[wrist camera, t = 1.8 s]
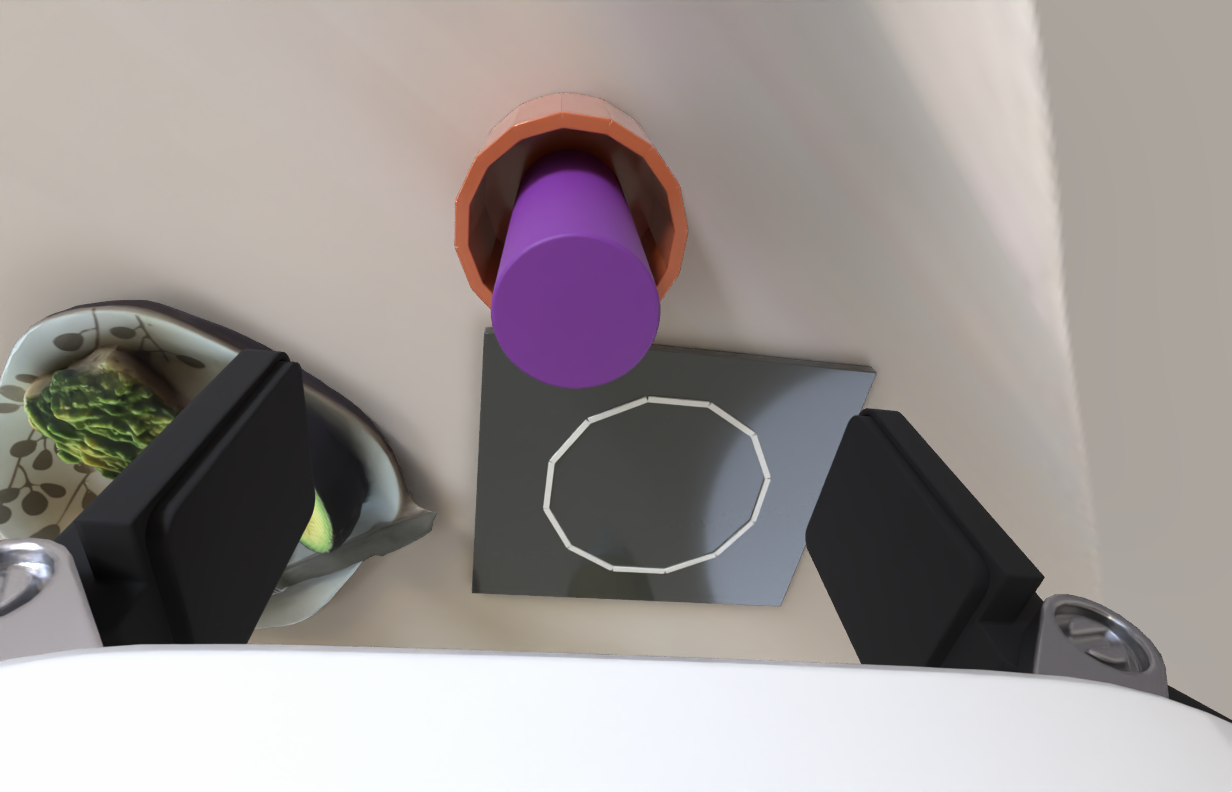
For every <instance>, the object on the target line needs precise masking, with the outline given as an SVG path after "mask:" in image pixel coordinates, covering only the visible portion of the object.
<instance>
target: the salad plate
mask: <svg viewBox="0 0 1232 792" xmlns="http://www.w3.org/2000/svg"><path fill="white" fill-rule="evenodd" d="M244 349H255V350H265V351H273V350H271V349H270V348H268V347H266V346H264V345H262V344H260V343H258V342H256V341H254V340H252V339H250V338H248V337H246V336H244V335H242V334H240V333H237V332H235V331H233V330H231V329H228V328H226V327H223V326H221V325H218V324H215V323H212V322H209V321H206V320H204V319H201V318H198V317H195V316H193V315H190V314H188V313H185V312H183V311H180V310H177V309H174V308H171V307H168V306H166V305H163V304H159V303H155V302H151V301H147V300H118V301H106V302H99V303H91V304H84V305H78V306H75V307H72V308H70V309H67V310H64V311H61V312H58V313H55V314H52V315H50V316H48V317H46V318H44V319H43V320H41V321H39V322H38V323H36V324H34V325H33V326H31V327H30V328H29V329H28V331H27V332H26V333H25V334H24V335H23V336H22V337H21V338H19V339H18V341H17V342H16V344H15V346H14V348H13V350H12V352H11V354H10V357H9V359H8V361H7V363H6V366H5V368H4V371H3V373H2V376H1V379H0V534H1V535H2V536H3V537H4V538H6V539H15V538H28V537H30V538H39V539H47V540H51V541H54V540H55V539H56V538H57V537H58V536H59V535H60V534H61V533H62V532H63V531H64V530H65V529H66V528H67V527H68V526H69V525H70V524H71V523H72V522H73V521H74V519H75V518H76V517H77V516H78V515H79V514H80V513H81V512H82V511H83V510H84V509H85V508H86V507H87V506H88V505H89V504H90V503H91V502H92V501H93V500H94V499H95V498H96V497H97V496H98V495H99V494H100V493H101V492H102V491H103V490H104V489H105V488H106V487H107V486H108V485H109V484H110V483H111V482H112V481H113V480H114V479H115V478H116V477H117V476H118V475H119V474H120V473H121V472H122V471H123V470H124V469H125V468H126V467H127V466H128V465H129V464H130V463H131V462H132V461H133V460H134V459H135V458H136V457H137V456H138V455H139V454H140V453H141V452H142V451H143V450H144V449H145V448H146V447H147V446H148V445H149V444H150V443H151V442H152V441H153V440H154V439H155V438H156V437H157V436H158V435H159V434H160V433H161V432H162V431H163V430H164V429H165V427H166V426H167V425H168V424H169V423H170V422H171V421H172V420H173V419H174V418H175V417H176V416H177V415H178V414H179V413H180V412H181V411H182V410H183V409H184V408H185V407H186V406H187V405H188V404H189V403H190V402H191V401H192V400H193V399H194V398H195V397H196V396H197V395H198V394H199V393H200V392H201V391H202V390H203V389H204V388H205V387H206V386H207V385H208V384H209V383H210V382H211V381H212V380H213V379H214V378H215V377H216V376H217V375H218V374H219V373H220V372H221V371H222V370H223V369H224V368H225V367H226V366H227V365H228V364H229V363H230V362H231V361H232V360H233V359H234V358H235V357H236V356H237V355H238V354H239V353H240V352H241V351H242V350H244ZM301 370H302V369H301ZM302 377H303V386H304V396H305V405H306V414H307V423H308V432H309V441H310V450H311V459H312V469H313V478H314V487H315V507H314V511H313V515H312V517H311V519H310V521H309V523H308V525H307V527H306V529H305V531H304V533H303V535H302V537H301V539H300V541H299V543H298V545H297V547H296V549H295V551H294V553H293V554H292V556H291V558H290V560H289V562H288V564H287V566H286V568H285V570H284V572H283V574H282V576H281V578H280V580H279V582H278V584H277V586H276V588H275V590H274V592H273V594H272V596H271V597H270V599H269V601H268V603H267V605H266V607H265V609H264V611H263V613H262V615H261V617H260V619H259V621H258V623H257V625H256V627H255V629H258V628H270V627H280V626H287V625H292V624H296V623H299V622H301V621H304V620H306V619H308V618H310V617H311V616H313V615H314V614H315V613H316V612H317V611H318V610H320V609H321V608H322V607H323V606H325V605H326V604H327V603H328V602H329V601H330V600H331V599H332V598H333V597H334V596H335V594H336V593H337V591H338V590H339V589H340V588H341V587H342V586H343V584H344V583H345V582H346V581H347V580H348V579H349V578H350V577H351V576H352V575H353V573H354V572H355V571H356V569H357V568H358V567H359V565H360V564H361V562H362V561H365V560H366V559H367V558H369V557H371V556H374V555H379V556H384V555H386V554H388V553H391V552H393V551H395V550H398V549H400V548H402V547H404V546H406V545H408V544H410V543H412V542H414V541H416V540H418V539H419V538H421V537H423V536H425V535H426V534H427V533H429V532H430V531H431V530H432V525H433V520H434V518H435V516H436V514H437V513H436V512H433V511H430V510H427V509H424V508H421V507H420V506H419V505H417V504H416V503H415V502H414V500H413V499H412V497H411V495H410V494H409V492H408V490H407V488H406V485H405V482H404V479H403V476H402V472H401V469H400V467H399V465H398V463H397V461H396V458H395V456H394V454H393V451H392V449H391V448H390V446H389V445H388V443H387V442H386V440H385V438H384V437H383V436H382V435H381V433H380V432H379V431H378V429H377V428H376V427H375V426H374V424H373V423H372V422H371V421H370V420H369V418H368V417H367V416H366V415H365V414H364V413H363V412H362V411H361V410H360V409H359V408H358V407H357V406H355V405H354V404H353V403H352V402H350V401H349V400H348V399H346V398H345V397H344V396H342V395H341V394H339V393H338V392H336V391H334V390H333V389H331V388H330V387H328V386H327V385H325V384H324V383H323V382H321V381H320V380H318V379H317V378H315V377H314V376H312V375H310V374H309V373H307V372H305V371H304V370H302Z"/></svg>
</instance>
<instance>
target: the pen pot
mask: <svg viewBox="0 0 1232 792" xmlns="http://www.w3.org/2000/svg"><path fill="white" fill-rule="evenodd" d="M568 149H571V150H579V151H584V152H587V153H590V154H592V155H594V156H596V157H598V158H599V159H601V160H602V161H603V162H605V163H606V164H607V165H608V166H609V167H610V168H611V169H612V171H613V172H614V173H615V175H616V176H617V178H618V180H619V182H620V184H621V187H622V190H623V193H624V195H625V198H626V201H627V204H628V207H629V210H630V213H631V215H632V218H633V221H634V224H635V227H636V230H637V233H638V235H639V238H640V241H641V244H642V247H643V250H644V253H645V255H646V258H647V261H648V264H649V267H650V270H651V273H652V275H653V278H654V281H655V284H656V287H657V291H658V294H659V300H660V302H661V301H662V299H663V298H664V296H665V295H666V293H667V292H668V290H669V289H670V287H671V286H672V284H673V283H674V281H675V280H676V278H677V277H678V275H679V273H680V269H681V264H682V260H683V255H684V250H685V245H686V241H687V236H688V224H687V219H686V214H685V209H684V203H683V198H682V193H681V187H680V186H679V183H678V181H677V180H676V178H675V177H674V175H673V174H672V172H671V171H670V169H669V168H668V166H667V165H666V163H665V162H664V160H663V159H662V157H661V156H660V154H659V153H658V151H657V150H656V148H655V147H654V146H653V144H652V143H651V141H650V140H649V138H648V137H647V136H646V134H645V133H644V131H643V130H642V128H641V127H640V126H639V124H638V123H637V122H636V121H635V120H634V119H632V118H631V117H629V116H628V115H627V114H625V113H624V112H623V111H621V110H620V109H619V108H617V107H615V106H613V105H611V104H610V103H608V102H606V101H605V100H602V99H600V98H595V97H592V96H587V95H583V94H574V93H558V94H552V95H547V96H542V97H539V98H536V99H534V100H531V101H529V102H526V103H523V104H521V105H520V106H519V107H517V108H516V109H515V110H514V111H512V112H511V113H510V114H508V115H507V116H506V117H505V118H504V119H503V120H502V121H501V122H500V123H499V124H498V125H497V126H495V127H494V128H493V129H492V130H491V132H490V133H489V135H488V137H487V138H486V140H485V142H484V144H483V145H482V147H481V149H480V150H479V152H478V154H477V155H476V157H475V159H474V161H473V163H472V165H471V168H470V170H469V172H468V174H467V176H466V178H465V181H464V183H463V185H462V187H461V189H460V191H459V193H458V196H457V198H456V202H455V242H454V245H455V250H456V252H457V255H458V257H459V260H460V262H461V265H462V267H463V270H464V272H465V275H466V277H467V280H468V282H469V285H470V287H471V288H472V290H473V291H474V292H475V293H476V294H477V296H478V297H479V298H480V299H481V300H482V301H483V302H484V303H485V304H486V305H487V306H488V307H489V308H490V309H491V301H492V295H493V291H494V286H495V282H496V278H497V274H498V270H499V266H500V261H501V257H502V253H503V249H504V245H505V241H506V236H507V232H508V228H509V224H510V220H511V216H512V211H513V207H514V203H515V199H516V195H517V191H518V187H519V184H520V182H521V179H522V177H523V176H524V174H525V172H526V171H527V170H528V169H529V167H530V166H531V165H532V164H533V163H534V162H536V161H537V160H538V159H540V158H541V157H543V156H545V155H547V154H549V153H552V152H555V151H559V150H568Z"/></svg>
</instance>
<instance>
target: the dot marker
mask: <svg viewBox="0 0 1232 792" xmlns="http://www.w3.org/2000/svg"><path fill="white" fill-rule="evenodd" d="M491 320H492V326H493V329H494V333H495V336H496V338H497V340H498V343H499V345H500V347H501V348H502V350H503V351H504V353H505V354H506V356H507V357H508V358H509V359H510V360H511V361H512V363H514V364H515V365H516V366H517V367H518V368H519V369H520V370H521V371H523V372H524V373H526V374H527V375H529V376H530V377H532V378H534V379H536V380H538V381H540V382H543V383H545V384H548V385H552V386H556V387H561V388H568V389H582V388H591V387H596V386H600V385H603V384H606V383H609V382H611V381H613V380H615V379H618V378H619V377H621V376H623V375H624V374H626V373H627V372H628V371H630V370H631V369H632V368H634V367H635V366H636V365H637V364H638V363H639V362H640V361H641V359H642V358H643V357H644V356H645V354H646V353H647V352H648V350H649V348H650V347H651V345H652V343H653V341H654V339H655V336H656V334H657V330H658V326H659V321H660V300H659V294H658V291H657V287H656V284H655V281H654V278H653V275H652V273H651V270H650V267H649V264H648V261H647V258H646V255H645V253H644V250H643V247H642V244H641V241H640V238H639V235H638V233H637V230H636V227H635V224H634V221H633V218H632V215H631V213H630V210H629V207H628V204H627V201H626V198H625V195H624V193H623V190H622V187H621V184H620V182H619V180H618V178H617V176H616V175H615V173H614V172H613V171H612V169H611V168H610V167H609V166H608V165H607V164H606V163H605V162H603V161H602V160H601V159H599V158H598V157H596V156H594V155H592V154H590V153H587V152H584V151H579V150H571V149H568V150H559V151H555V152H552V153H549V154H547V155H545V156H543V157H541V158H540V159H538V160H537V161H536V162H534V163H533V164H532V165H531V166H530V167H529V169H528V170H527V171H526V172H525V174H524V176H523V177H522V179H521V182H520V184H519V187H518V191H517V195H516V199H515V203H514V207H513V211H512V216H511V220H510V224H509V228H508V232H507V236H506V241H505V245H504V249H503V253H502V257H501V261H500V266H499V270H498V274H497V278H496V282H495V286H494V291H493V295H492V301H491Z"/></svg>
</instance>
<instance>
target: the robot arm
mask: <svg viewBox="0 0 1232 792" xmlns="http://www.w3.org/2000/svg"><path fill="white" fill-rule="evenodd" d="M314 507H315V487H314V478H313V469H312V459H311V450H310V441H309V432H308V423H307V414H306V405H305V396H304V386H303V377H302V370H301V367H300V364H298V363H297V362H290V359H289V357H288V355H287V354H286V353H285V352H276V351H265V350H255V349H244V350H242V351H241V352H240V353H239V354H238V355H237V356H236V357H235V358H234V359H233V360H232V361H231V362H230V363H229V364H228V365H227V366H226V367H225V368H224V369H223V370H222V371H221V372H220V373H219V374H218V375H217V376H216V377H215V378H214V379H213V380H212V381H211V382H210V383H209V384H208V385H207V386H206V387H205V388H204V389H203V390H202V391H201V392H200V393H199V394H198V395H197V396H196V397H195V398H194V399H193V400H192V401H191V402H190V403H189V404H188V405H187V406H186V407H185V408H184V409H183V410H182V411H181V412H180V413H179V414H178V415H177V416H176V417H175V418H174V419H173V420H172V421H171V422H170V423H169V424H168V425H167V426H166V427H165V429H164V430H163V431H162V432H161V433H160V434H159V435H158V436H157V437H156V438H155V439H154V440H153V441H152V442H151V443H150V444H149V445H148V446H147V447H146V448H145V449H144V450H143V451H142V452H141V453H140V454H139V455H138V456H137V457H136V458H135V459H134V460H133V461H132V462H131V463H130V464H129V465H128V466H127V467H126V468H125V469H124V470H123V471H122V472H121V473H120V474H119V475H118V476H117V477H116V478H115V479H114V480H113V481H112V482H111V483H110V484H109V485H108V486H107V487H106V488H105V489H104V490H103V491H102V492H101V493H100V494H99V495H98V496H97V497H96V498H95V499H94V500H93V501H92V502H91V503H90V504H89V505H88V506H87V507H86V508H85V509H84V510H83V511H82V512H81V513H80V514H79V515H78V516H77V517H76V518H75V519H74V521H73V522H72V523H71V524H70V525H69V526H68V527H67V528H66V529H65V530H64V531H63V532H62V533H61V534H60V535H59V536H58V537H57V538H56V539H55V540H54V541H51V540H47V539H39V538H30V537H28V538H15V539H4V540H0V792H1232V720H1230V719H1229V718H1227V717H1225V716H1223V715H1221V714H1220V713H1218V712H1216V711H1214V710H1212V709H1210V708H1209V707H1207V706H1205V705H1203V704H1201V703H1200V702H1198V701H1196V700H1194V699H1192V698H1190V697H1189V696H1187V695H1185V694H1183V693H1181V692H1180V691H1178V690H1176V689H1174V688H1172V687H1170V686H1168V685H1167V676H1166V668H1165V664H1164V662H1163V659H1162V656H1161V654H1160V653H1159V651H1158V650H1157V648H1156V647H1155V646H1154V644H1153V643H1152V642H1151V640H1150V639H1148V638H1147V637H1146V636H1145V635H1144V634H1143V633H1142V632H1141V631H1140V630H1139V629H1138V628H1137V627H1136V626H1134V625H1133V624H1132V623H1130V622H1129V621H1127V620H1126V619H1125V618H1123V617H1122V616H1121V615H1119V614H1117V613H1115V612H1113V611H1112V610H1110V609H1108V608H1106V607H1105V606H1103V605H1101V604H1098V603H1096V602H1093V601H1091V600H1088V599H1086V598H1082V597H1078V596H1073V595H1069V594H1061V595H1053V596H1051V597H1049V598H1046V599H1045V601H1044V602H1043V601H1042V599H1041V598H1040V597H1039V596H1038V595H1037V593H1036V592H1035V591H1036V590H1037V588H1038V587H1039V585H1040V584H1041V582H1042V581H1043V579H1044V578H1045V577H1044V576H1043V575H1042V573H1041V572H1040V571H1039V570H1038V569H1037V568H1036V567H1035V566H1034V564H1033V563H1032V562H1031V561H1030V560H1029V559H1028V558H1027V556H1026V555H1025V554H1024V553H1023V552H1022V551H1021V550H1020V548H1019V547H1018V546H1017V545H1016V544H1015V543H1014V542H1013V540H1012V539H1011V538H1010V537H1009V536H1008V535H1007V534H1006V532H1005V531H1004V530H1003V529H1002V528H1001V527H1000V526H999V524H998V523H997V522H996V521H995V520H994V519H993V518H992V516H991V515H990V514H989V513H988V512H987V511H986V510H985V508H984V507H983V506H982V505H981V504H980V503H979V502H978V500H977V499H976V498H975V497H974V496H973V495H972V494H971V493H970V491H969V490H968V489H967V488H966V487H965V486H964V485H963V483H962V482H961V481H960V480H959V479H958V478H957V477H956V475H955V474H954V473H953V472H952V471H951V470H950V469H949V467H948V466H947V465H946V464H945V463H944V462H943V461H942V459H941V458H940V457H939V456H938V455H937V454H936V453H935V451H934V450H933V449H932V448H931V447H930V446H929V445H928V443H927V442H926V441H925V440H924V439H923V438H922V437H921V435H920V434H919V433H918V432H917V431H916V430H915V429H914V427H913V426H912V425H911V424H910V423H909V422H908V421H907V420H906V418H905V417H904V416H903V415H902V414H901V413H899V412H898V411H890V410H879V409H869V408H866V409H864V410H862V411H861V412H860V413H859V415H855V416H852V418H851V419H850V420H849V422H848V424H847V427H846V429H845V432H844V434H843V437H842V439H841V442H840V444H839V447H838V449H837V452H836V455H835V457H834V460H833V462H832V465H831V467H830V470H829V472H828V475H827V477H826V480H825V482H824V485H823V487H822V490H821V493H820V495H819V498H818V500H817V503H816V505H815V508H814V510H813V513H812V515H811V518H810V520H809V523H808V526H807V529H806V534H805V541H806V546H807V549H808V551H809V554H810V556H811V558H812V560H813V562H814V564H815V566H816V568H817V571H818V573H819V575H820V577H821V579H822V581H823V583H824V585H825V588H826V590H827V592H828V594H829V596H830V598H831V600H832V603H833V605H834V607H835V609H836V611H837V613H838V615H839V617H840V620H841V622H842V624H843V626H844V628H845V630H846V632H847V634H848V637H849V639H850V641H851V643H852V645H853V647H854V649H855V652H856V654H857V656H858V658H859V660H860V662H861V664H843V663H820V662H796V661H772V660H747V659H720V658H693V657H666V656H639V655H610V654H581V653H553V652H522V651H489V650H456V649H423V648H390V647H357V646H318V645H275V644H247V642H248V640H249V639H250V637H251V635H252V633H253V631H254V629H255V627H256V625H257V623H258V621H259V619H260V617H261V615H262V613H263V611H264V609H265V607H266V605H267V603H268V601H269V599H270V597H271V596H272V594H273V592H274V590H275V588H276V586H277V584H278V582H279V580H280V578H281V576H282V574H283V572H284V570H285V568H286V566H287V564H288V562H289V560H290V558H291V556H292V554H293V553H294V551H295V549H296V547H297V545H298V543H299V541H300V539H301V537H302V535H303V533H304V531H305V529H306V527H307V525H308V523H309V521H310V519H311V517H312V515H313V511H314Z"/></svg>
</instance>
